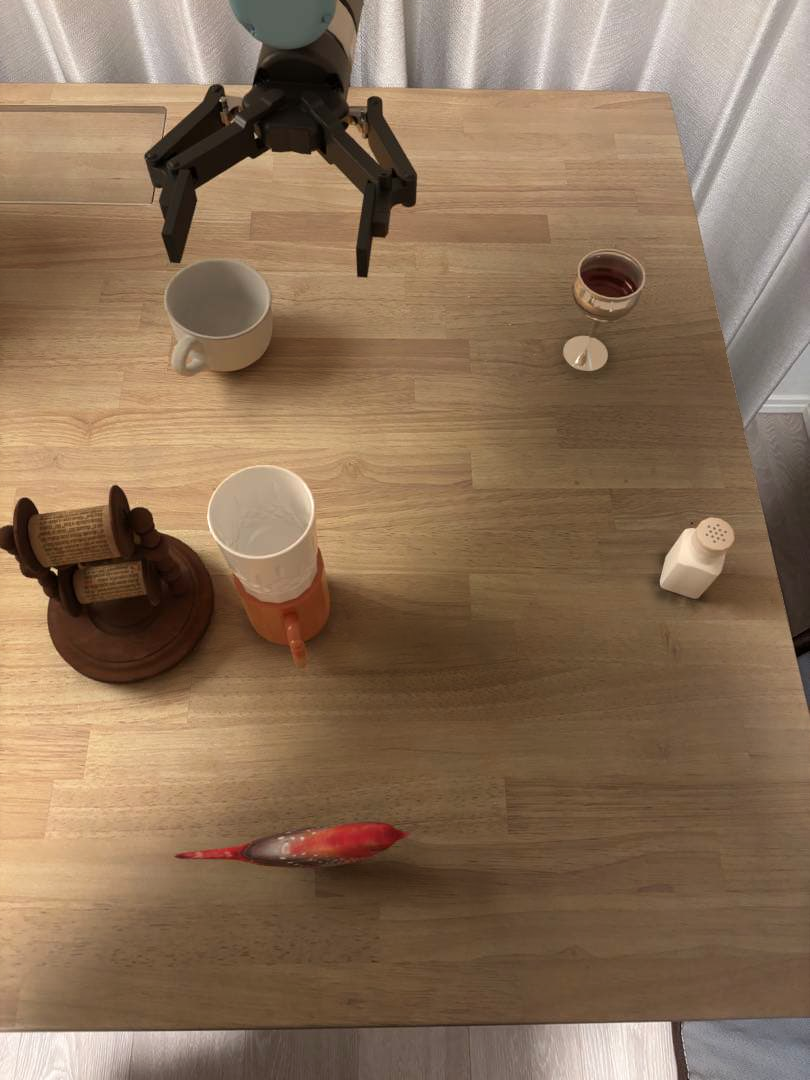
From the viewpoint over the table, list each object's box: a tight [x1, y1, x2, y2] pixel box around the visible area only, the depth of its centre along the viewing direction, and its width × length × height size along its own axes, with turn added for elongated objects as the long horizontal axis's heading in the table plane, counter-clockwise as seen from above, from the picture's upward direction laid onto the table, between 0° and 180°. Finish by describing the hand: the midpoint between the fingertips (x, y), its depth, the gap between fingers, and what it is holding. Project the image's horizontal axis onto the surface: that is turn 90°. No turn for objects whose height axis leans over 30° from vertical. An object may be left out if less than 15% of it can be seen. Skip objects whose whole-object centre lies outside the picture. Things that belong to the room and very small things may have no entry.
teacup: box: [163, 257, 273, 378], centre depth 87 cm, size 14×11×8 cm
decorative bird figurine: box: [174, 821, 410, 869], centre depth 63 cm, size 3×18×10 cm, turn 95°
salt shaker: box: [659, 517, 735, 600], centre depth 75 cm, size 4×4×10 cm
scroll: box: [0, 484, 216, 686], centre depth 68 cm, size 15×15×20 cm
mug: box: [231, 546, 331, 669], centre depth 73 cm, size 11×8×9 cm
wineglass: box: [562, 248, 646, 372], centre depth 86 cm, size 7×7×12 cm
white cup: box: [206, 464, 319, 603], centre depth 65 cm, size 8×8×10 cm
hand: (266, 256), depth 58 cm, fingers open, 13 cm apart
